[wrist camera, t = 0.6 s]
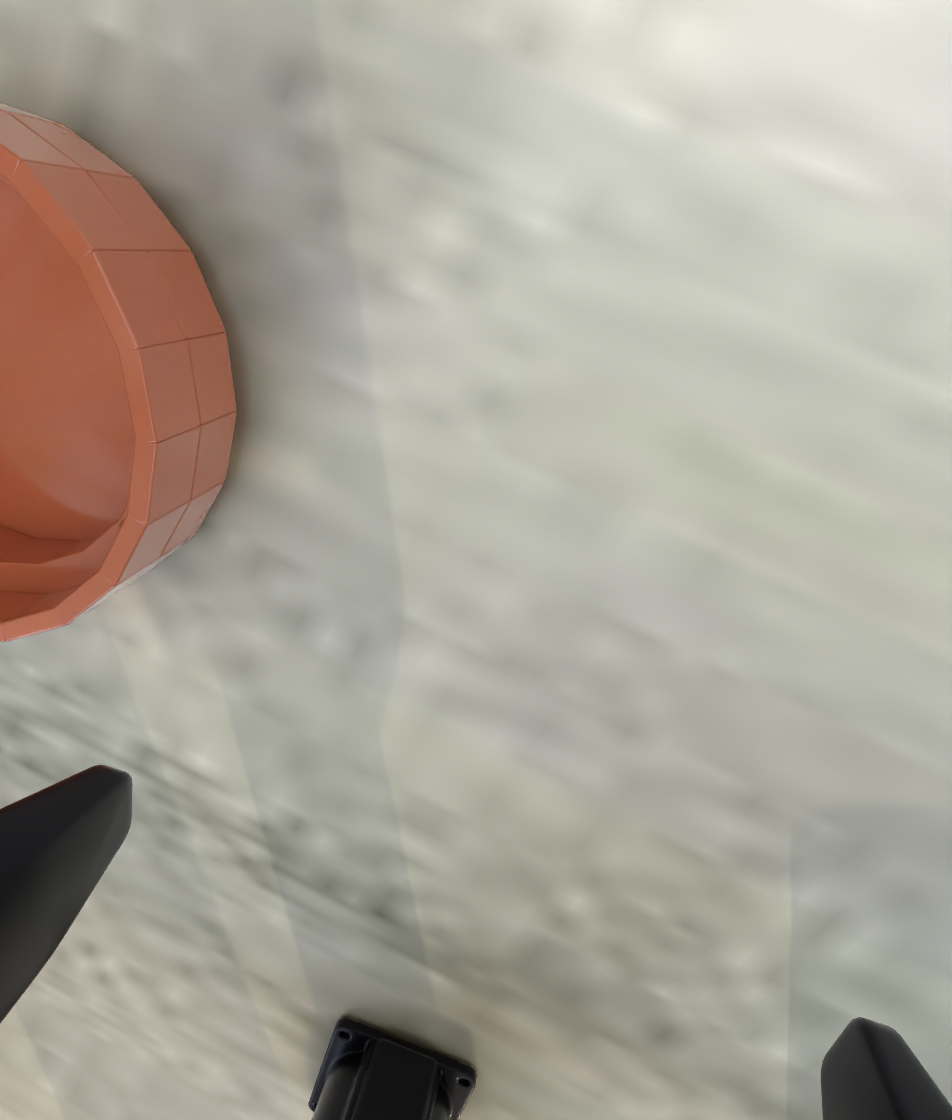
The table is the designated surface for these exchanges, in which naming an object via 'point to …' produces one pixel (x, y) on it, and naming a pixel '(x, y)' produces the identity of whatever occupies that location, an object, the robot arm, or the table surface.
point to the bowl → (97, 380)
